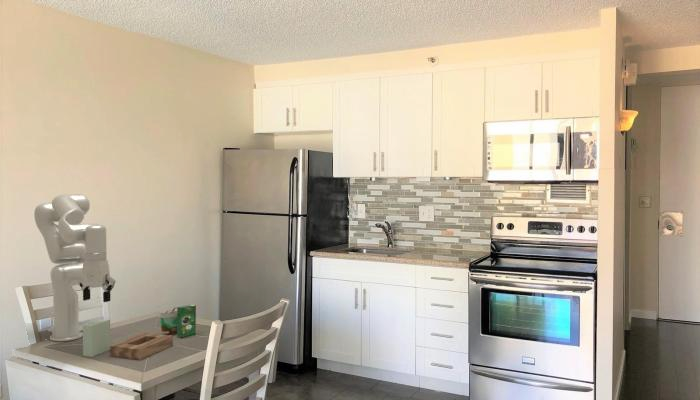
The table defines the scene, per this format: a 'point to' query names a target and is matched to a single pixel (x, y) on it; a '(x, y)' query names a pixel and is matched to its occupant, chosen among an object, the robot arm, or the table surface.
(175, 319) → the food container
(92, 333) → the pale green upright block
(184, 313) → the coffee box
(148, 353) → the slotted block
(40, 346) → the table surface
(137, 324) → the table surface
